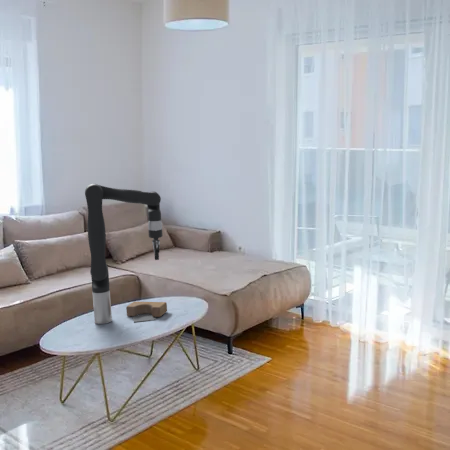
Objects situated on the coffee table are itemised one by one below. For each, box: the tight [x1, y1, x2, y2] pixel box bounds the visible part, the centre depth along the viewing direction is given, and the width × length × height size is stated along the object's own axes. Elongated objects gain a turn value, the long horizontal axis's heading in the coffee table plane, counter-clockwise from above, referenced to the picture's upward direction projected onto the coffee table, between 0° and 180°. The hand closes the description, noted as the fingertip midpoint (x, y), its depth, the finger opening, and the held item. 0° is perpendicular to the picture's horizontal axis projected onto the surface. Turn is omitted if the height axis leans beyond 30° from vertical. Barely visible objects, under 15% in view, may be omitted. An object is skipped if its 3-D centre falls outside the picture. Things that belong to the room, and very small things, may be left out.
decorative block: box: [125, 301, 168, 318], centre depth 332 cm, size 11×6×20 cm
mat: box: [132, 314, 157, 324], centre depth 327 cm, size 12×11×1 cm
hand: (156, 259), depth 325 cm, fingers closed
